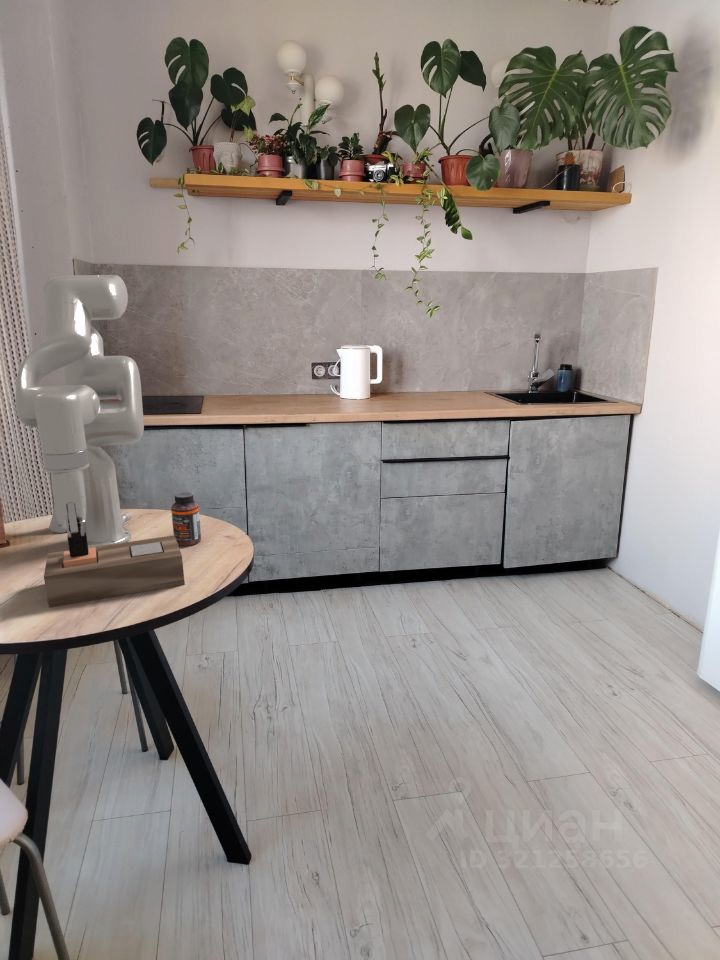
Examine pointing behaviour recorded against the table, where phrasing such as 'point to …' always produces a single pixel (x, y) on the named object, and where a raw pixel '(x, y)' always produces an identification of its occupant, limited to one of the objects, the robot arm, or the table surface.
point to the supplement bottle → (186, 519)
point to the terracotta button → (80, 558)
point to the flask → (55, 527)
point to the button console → (113, 572)
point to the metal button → (146, 549)
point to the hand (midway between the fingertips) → (79, 554)
